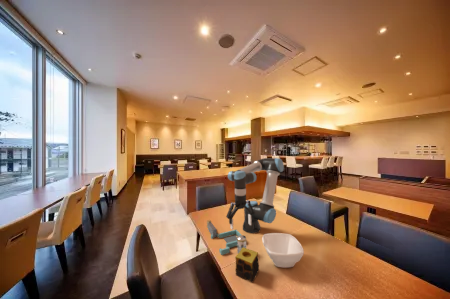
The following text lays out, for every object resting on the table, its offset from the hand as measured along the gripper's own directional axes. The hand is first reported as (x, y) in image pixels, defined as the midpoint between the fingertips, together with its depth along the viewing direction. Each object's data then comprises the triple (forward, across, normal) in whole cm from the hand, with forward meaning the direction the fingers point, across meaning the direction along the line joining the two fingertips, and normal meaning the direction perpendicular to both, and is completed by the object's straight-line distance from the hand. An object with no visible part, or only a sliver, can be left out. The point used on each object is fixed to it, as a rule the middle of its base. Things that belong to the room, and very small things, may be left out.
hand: (241, 226), depth 103 cm
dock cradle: (+17, +3, -15) cm, 23 cm away
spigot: (+17, 0, 0) cm, 17 cm away
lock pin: (+17, +10, -33) cm, 39 cm away
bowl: (+18, -18, +18) cm, 31 cm away
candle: (+18, +5, +16) cm, 25 cm away
